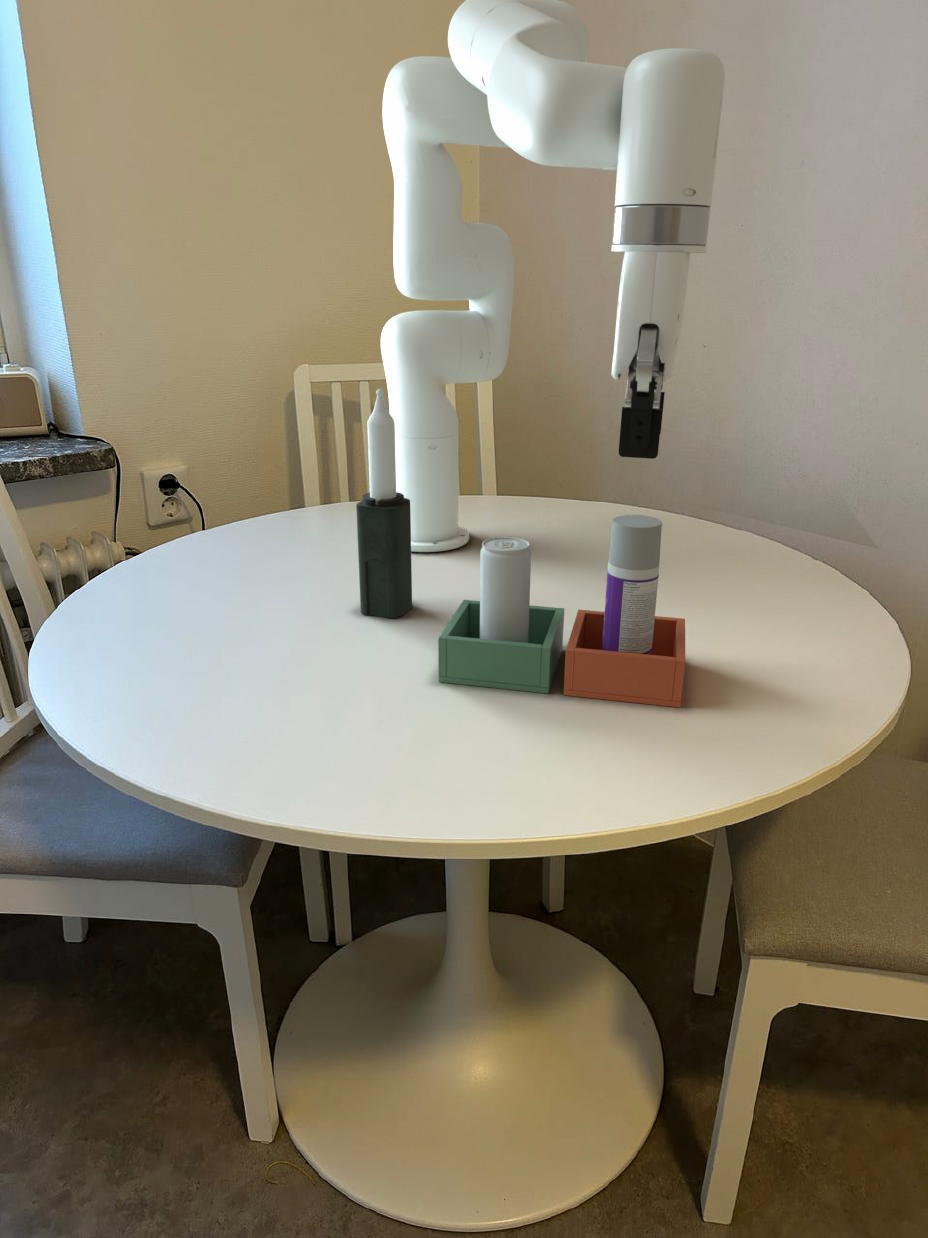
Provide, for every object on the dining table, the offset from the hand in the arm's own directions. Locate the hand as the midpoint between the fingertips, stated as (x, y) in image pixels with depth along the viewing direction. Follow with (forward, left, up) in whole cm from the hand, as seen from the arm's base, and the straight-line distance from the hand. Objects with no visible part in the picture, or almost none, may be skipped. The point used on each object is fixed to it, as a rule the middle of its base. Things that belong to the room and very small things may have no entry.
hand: (640, 445), depth 77 cm
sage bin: (-12, 0, -22) cm, 25 cm away
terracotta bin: (0, 0, -22) cm, 22 cm away
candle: (-28, +12, -23) cm, 38 cm away
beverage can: (-12, 0, -22) cm, 25 cm away
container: (0, 0, -22) cm, 22 cm away
